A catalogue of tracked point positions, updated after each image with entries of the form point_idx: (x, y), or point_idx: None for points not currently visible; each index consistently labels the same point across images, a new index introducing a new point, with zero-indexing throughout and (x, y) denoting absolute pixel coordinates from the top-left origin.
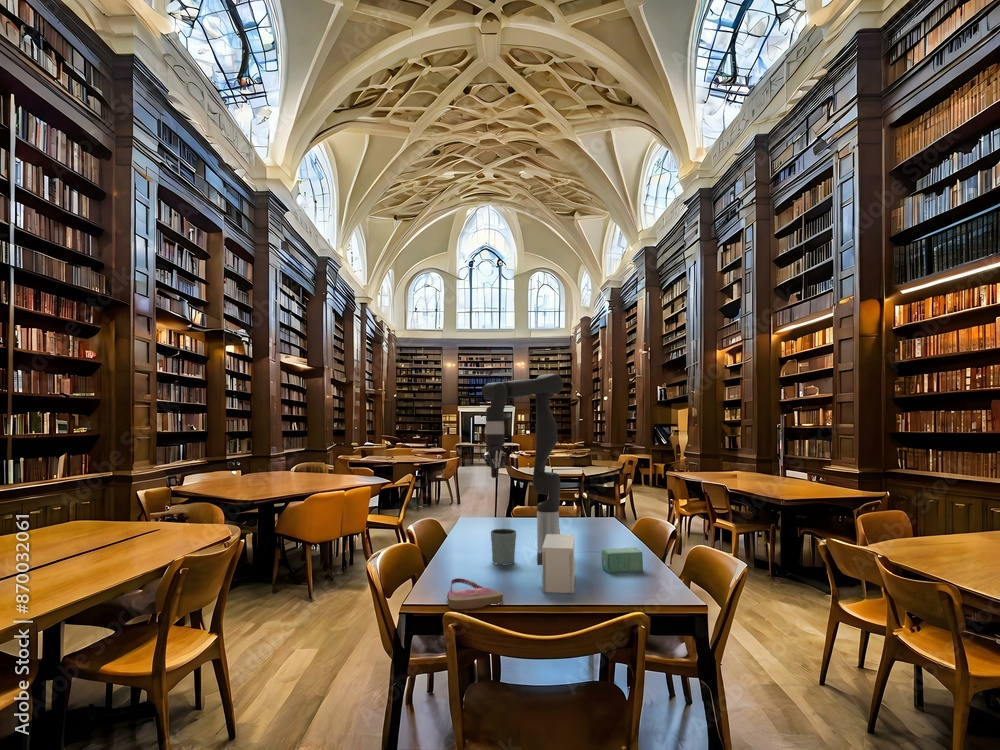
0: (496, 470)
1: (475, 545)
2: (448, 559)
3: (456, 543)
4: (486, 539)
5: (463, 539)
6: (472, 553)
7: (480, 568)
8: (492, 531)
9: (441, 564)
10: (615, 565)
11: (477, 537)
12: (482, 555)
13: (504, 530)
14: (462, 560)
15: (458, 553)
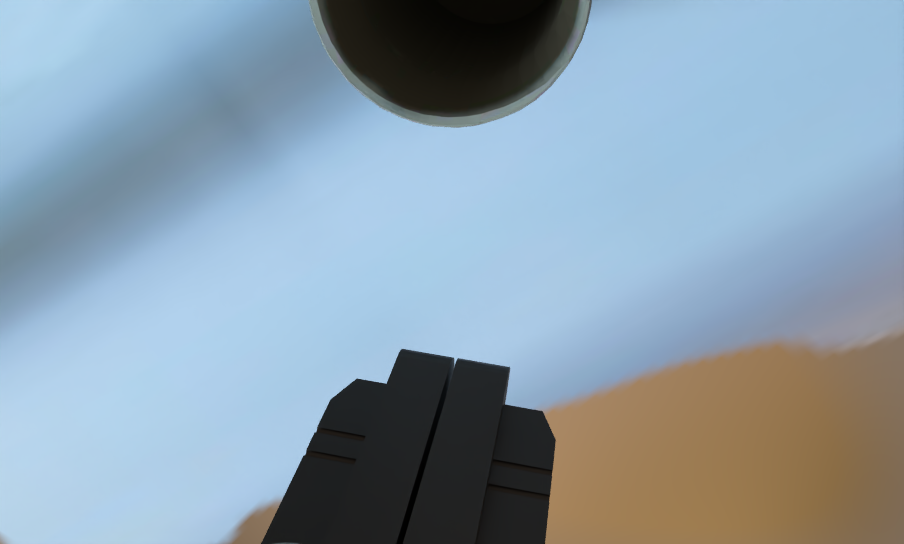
0: (453, 502)
1: (208, 365)
2: (619, 331)
3: (245, 477)
4: (41, 382)
5: (141, 489)
6: (394, 280)
7: (749, 3)
8: (482, 109)
9: (762, 304)
10: None
11: (44, 448)
12: (400, 195)
13: (342, 45)
14: (597, 241)
15: (446, 354)
